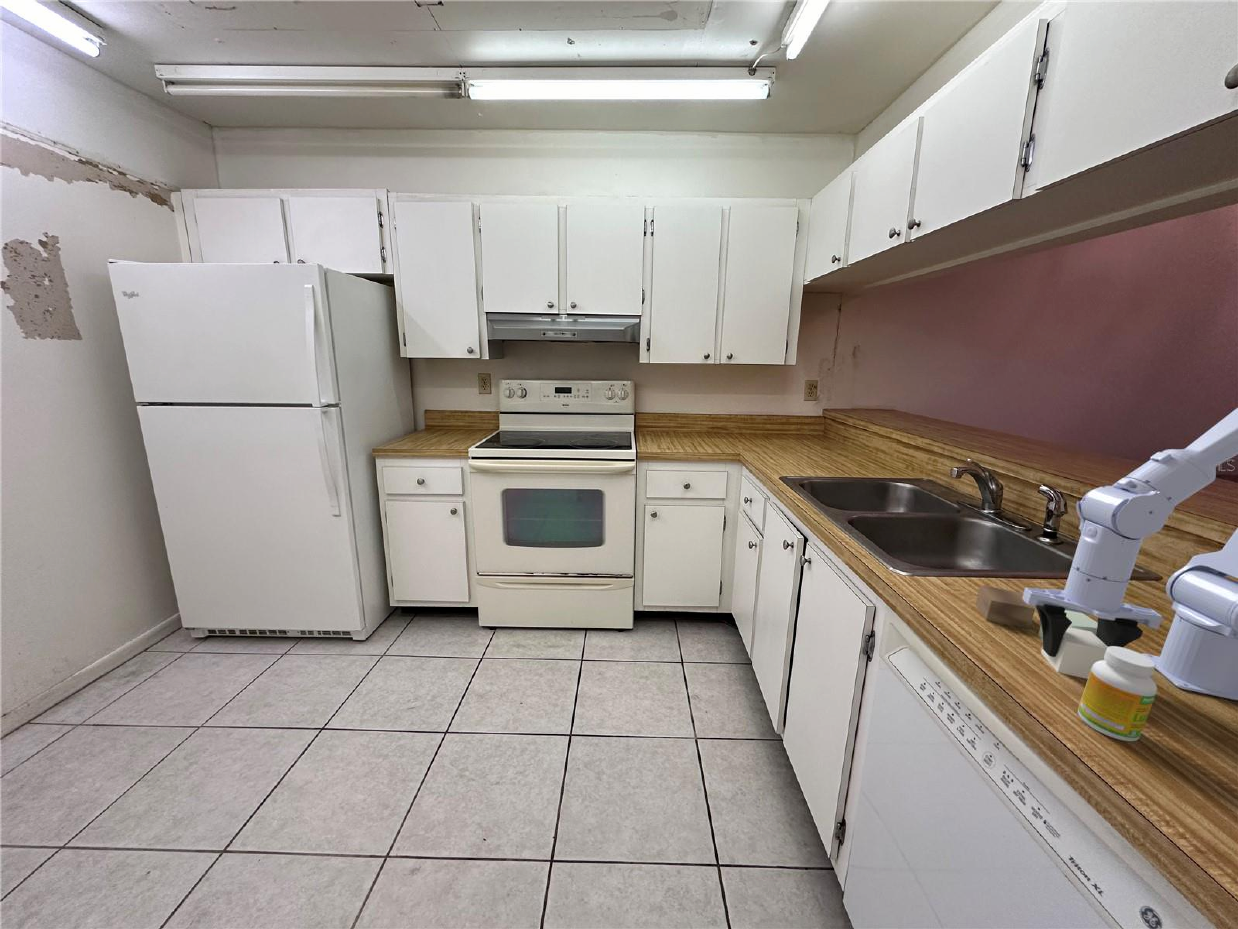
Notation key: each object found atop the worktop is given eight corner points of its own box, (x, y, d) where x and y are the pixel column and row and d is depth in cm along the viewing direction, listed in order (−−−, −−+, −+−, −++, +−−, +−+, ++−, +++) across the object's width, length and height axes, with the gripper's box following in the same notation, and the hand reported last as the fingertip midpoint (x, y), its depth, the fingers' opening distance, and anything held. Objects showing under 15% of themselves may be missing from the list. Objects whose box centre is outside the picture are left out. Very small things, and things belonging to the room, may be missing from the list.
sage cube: (1070, 638, 76) (1079, 611, 75) (1098, 658, 71) (1108, 629, 70) (1037, 635, 76) (1046, 608, 75) (1063, 654, 72) (1072, 625, 70)
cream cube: (1081, 661, 70) (1091, 631, 69) (1101, 682, 66) (1112, 650, 64) (1040, 652, 72) (1049, 623, 71) (1057, 672, 67) (1067, 641, 66)
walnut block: (1015, 612, 84) (1020, 592, 83) (1029, 630, 78) (1035, 608, 77) (975, 604, 86) (980, 585, 85) (985, 621, 80) (991, 600, 79)
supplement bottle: (1134, 750, 54) (1162, 677, 51) (1071, 720, 58) (1094, 651, 56) (1142, 730, 57) (1168, 660, 55) (1082, 703, 61) (1103, 637, 59)
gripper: (1049, 574, 64) (1024, 660, 67) (1191, 597, 59) (1157, 689, 62) (1026, 554, 70) (1004, 634, 73) (1152, 574, 66) (1122, 658, 69)
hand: (1072, 657), depth 68 cm, fingers closed on cream cube, 5 cm apart
